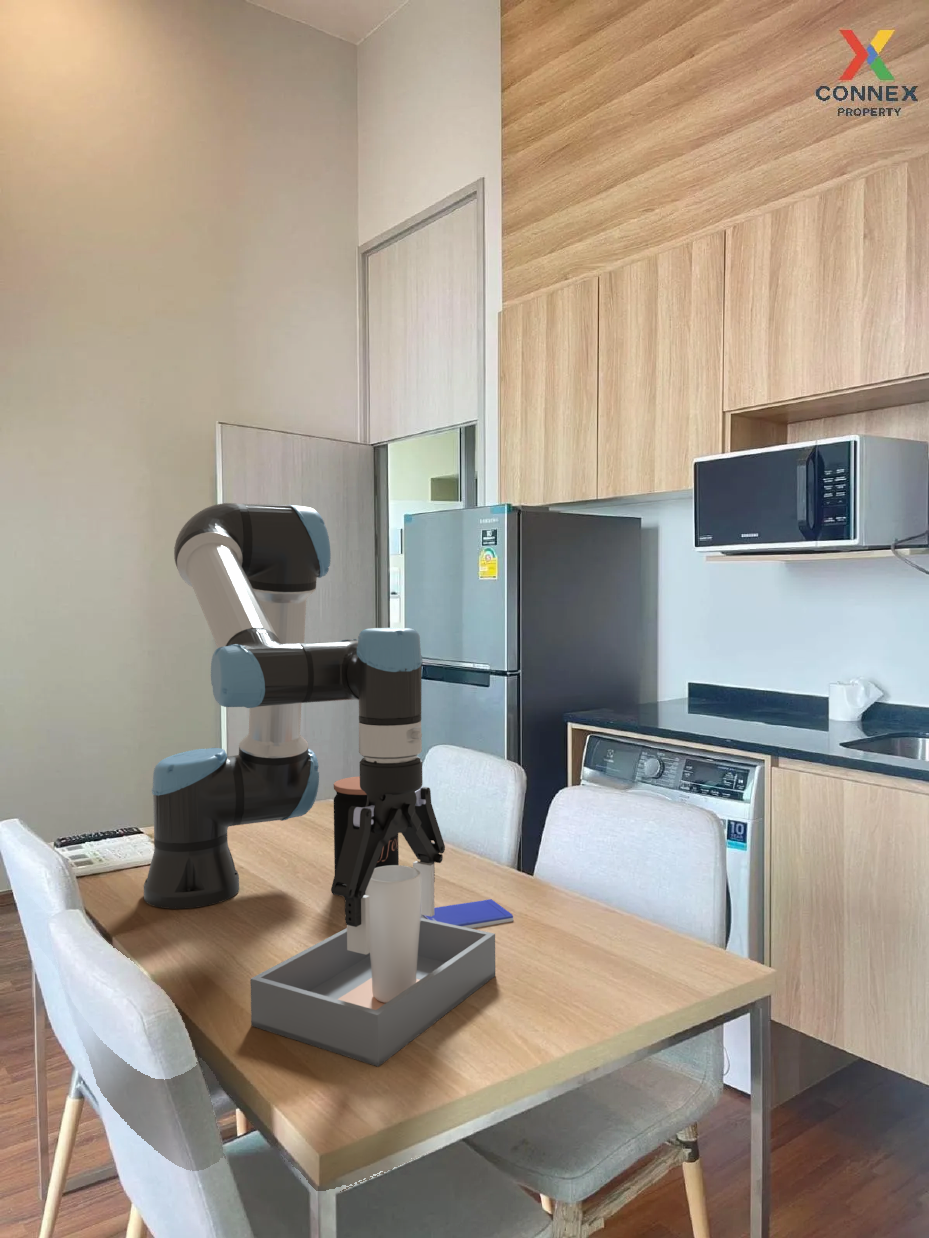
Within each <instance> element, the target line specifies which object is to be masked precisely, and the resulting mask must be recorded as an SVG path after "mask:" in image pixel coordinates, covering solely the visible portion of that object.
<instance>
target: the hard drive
mask: <svg viewBox="0 0 929 1238" xmlns="http://www.w3.org/2000/svg"><path fill="white" fill-rule="evenodd" d="M421 918H424V919H428V920H433V921H438V922H443V923H447V924H452V925H457V926H461V927H466V928H471V929H475V928H481V927H485V926H486V927H487V926H493V925H499V924H503V923H504V924H505V923H509V922H514V915H513V914H512V912H510V911H509V910H507V909H506V908H504V907H503V906H501V905H500V904H498V902H496V901H495V900H493V899H491V898H490V899H483V900H477V901H471V902H464V903H457V904H450V905H445V906H437V907H434V915H433V916H432V917H430V916H426V915H421Z"/></svg>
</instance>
